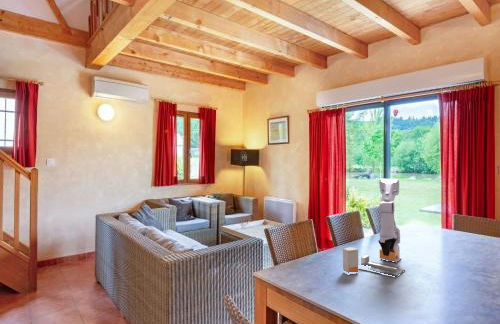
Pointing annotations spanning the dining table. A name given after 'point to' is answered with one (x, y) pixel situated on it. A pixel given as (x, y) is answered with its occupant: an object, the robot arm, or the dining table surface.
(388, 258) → the lock block
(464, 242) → the dining table surface
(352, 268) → the skincare box
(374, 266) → the plate
